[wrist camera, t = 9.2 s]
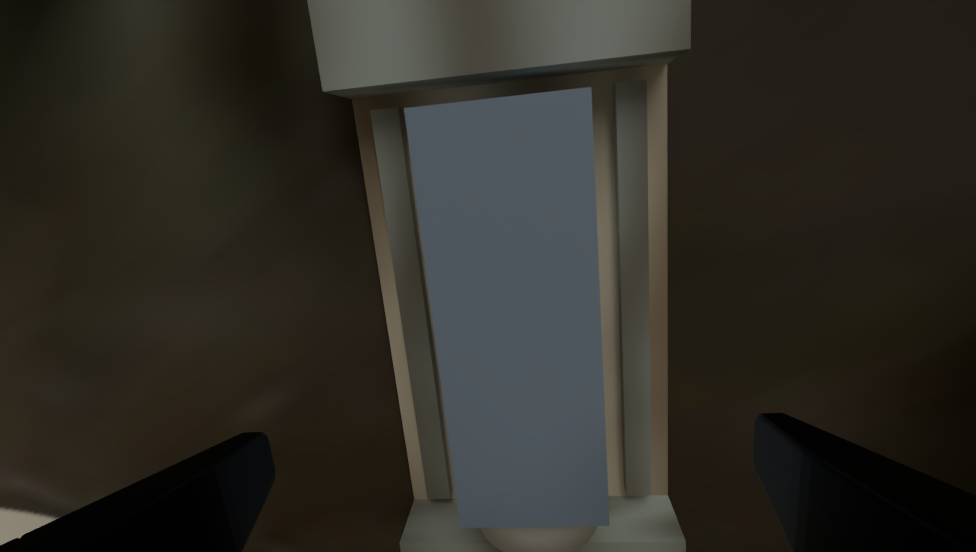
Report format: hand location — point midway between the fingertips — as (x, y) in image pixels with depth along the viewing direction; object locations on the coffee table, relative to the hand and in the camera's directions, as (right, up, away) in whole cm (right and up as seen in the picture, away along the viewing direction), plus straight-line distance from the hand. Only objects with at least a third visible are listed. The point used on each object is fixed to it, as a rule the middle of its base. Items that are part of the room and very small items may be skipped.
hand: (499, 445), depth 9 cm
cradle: (+1, +2, +11) cm, 11 cm away
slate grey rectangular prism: (+1, +3, +10) cm, 10 cm away
